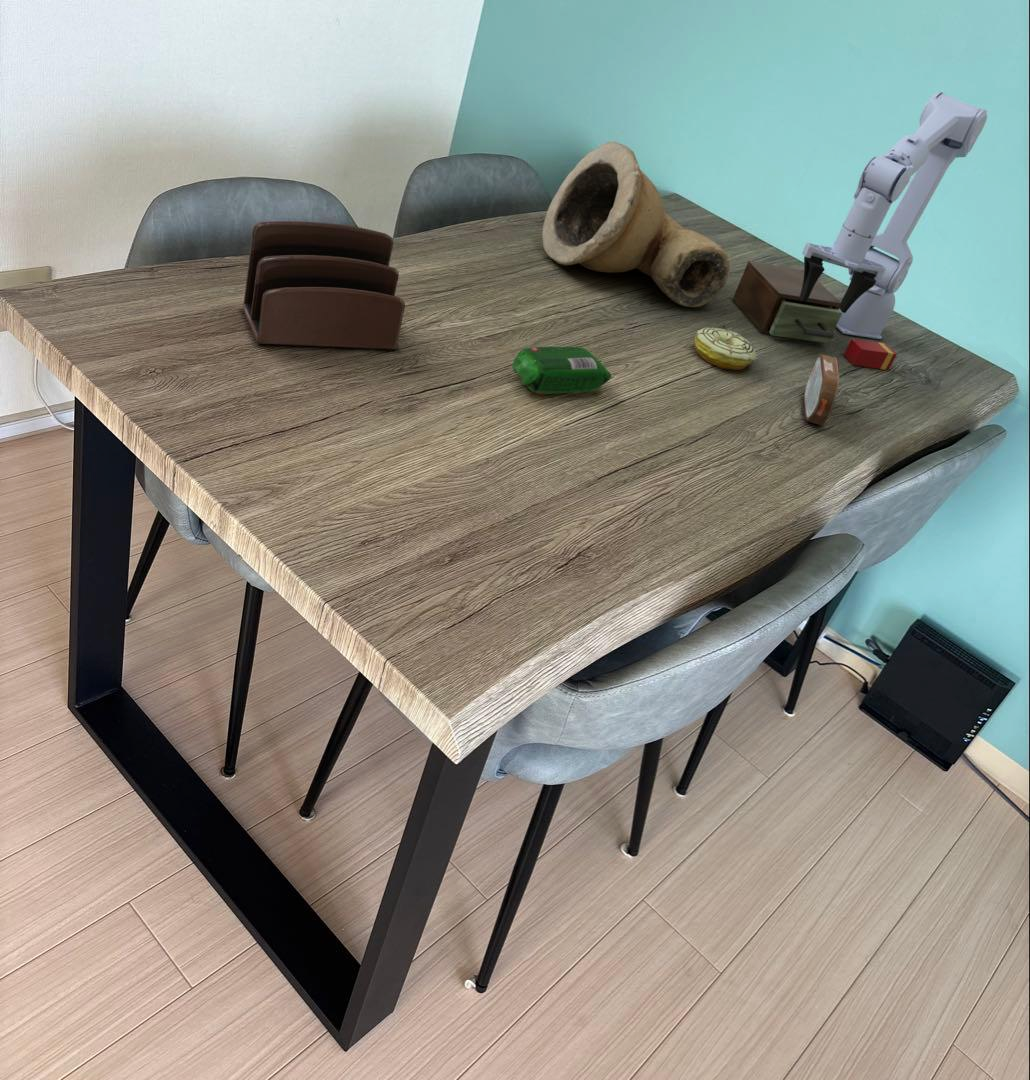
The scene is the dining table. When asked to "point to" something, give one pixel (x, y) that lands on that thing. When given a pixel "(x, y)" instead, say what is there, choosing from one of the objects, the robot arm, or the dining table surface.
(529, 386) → the snack package
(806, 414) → the tin
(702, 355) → the decorated donut
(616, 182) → the pipe
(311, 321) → the letter holder
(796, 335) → the drawer
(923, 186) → the robot arm
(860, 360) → the chocolate bar
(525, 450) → the dining table surface
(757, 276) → the cabinet
